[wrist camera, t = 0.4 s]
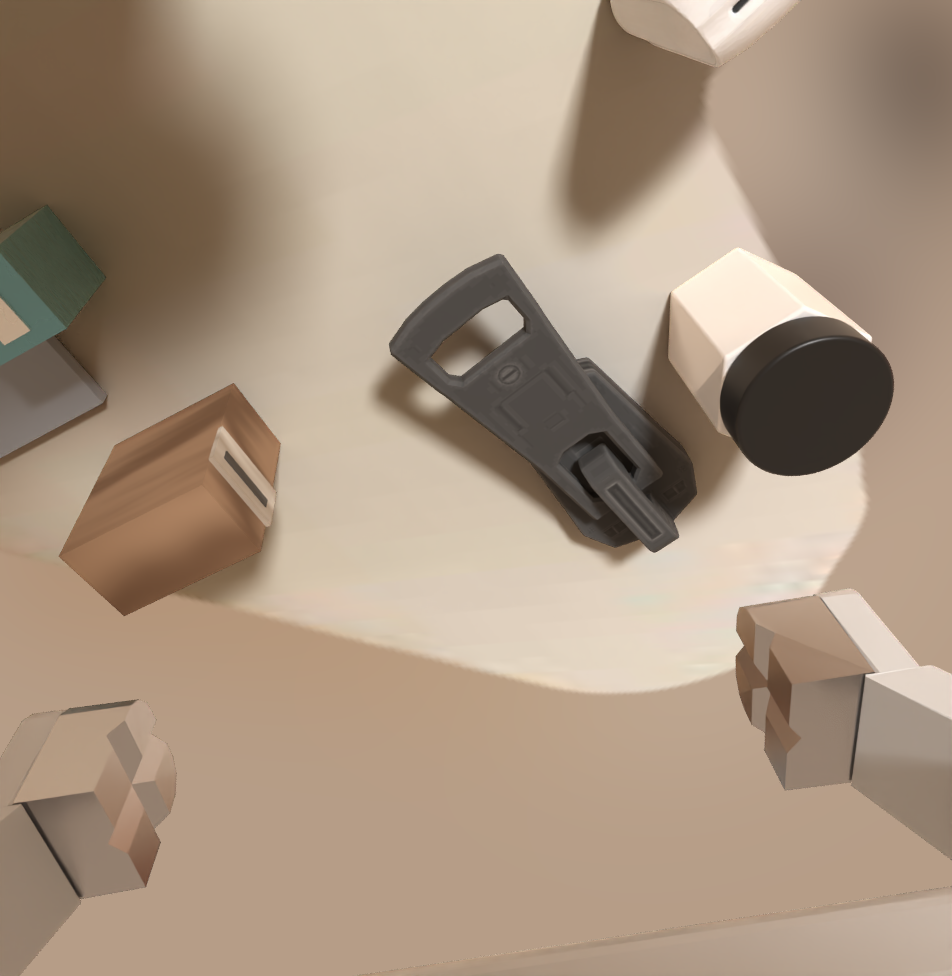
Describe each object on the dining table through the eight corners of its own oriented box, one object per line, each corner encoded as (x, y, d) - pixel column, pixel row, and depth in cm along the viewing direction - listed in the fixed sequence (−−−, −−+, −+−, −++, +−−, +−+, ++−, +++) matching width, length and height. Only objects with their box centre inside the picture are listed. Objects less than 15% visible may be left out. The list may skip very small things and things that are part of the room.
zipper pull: (504, 240, 39) (740, 532, 52) (489, 202, 45) (705, 475, 57) (370, 351, 42) (625, 604, 54) (371, 303, 47) (602, 543, 60)
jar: (695, 401, 53) (767, 508, 44) (637, 310, 49) (702, 405, 39) (819, 323, 51) (924, 417, 41) (769, 220, 47) (873, 298, 37)
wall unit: (109, 446, 51) (52, 557, 42) (237, 379, 49) (207, 480, 40) (163, 503, 54) (120, 619, 45) (286, 442, 52) (267, 549, 43)
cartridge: (-20, 244, 43) (-82, 294, 37) (46, 204, 42) (-6, 248, 37) (41, 313, 46) (-7, 370, 40) (106, 277, 45) (65, 329, 39)
